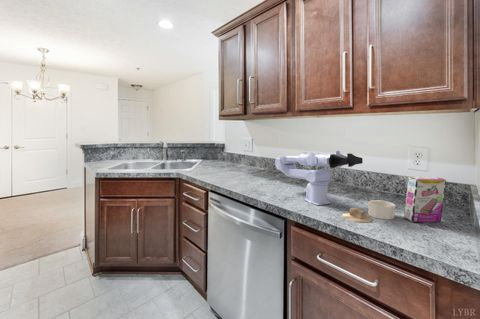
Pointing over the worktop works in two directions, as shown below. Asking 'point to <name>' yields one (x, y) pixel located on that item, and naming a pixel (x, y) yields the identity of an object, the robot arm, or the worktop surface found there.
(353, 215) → the lid
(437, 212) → the candy bar box
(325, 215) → the worktop surface
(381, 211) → the bowl
